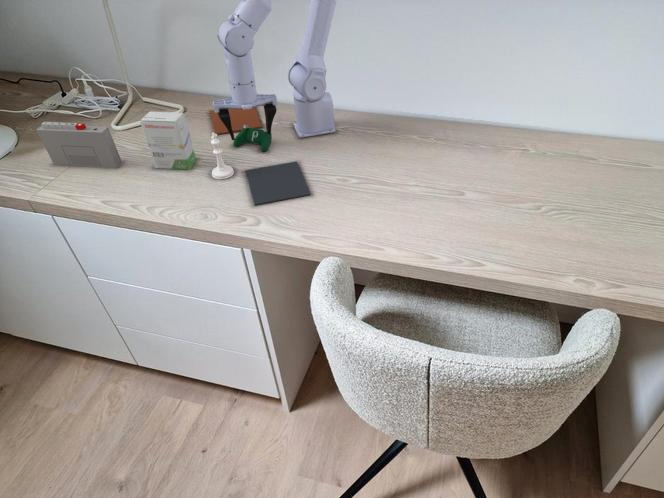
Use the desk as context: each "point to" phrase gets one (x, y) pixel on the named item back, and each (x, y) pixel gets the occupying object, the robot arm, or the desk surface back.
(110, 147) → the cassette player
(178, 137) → the ink box
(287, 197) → the slate mat
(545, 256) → the desk surface
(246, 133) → the gaming controller
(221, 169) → the chess piece
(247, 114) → the cork mat
